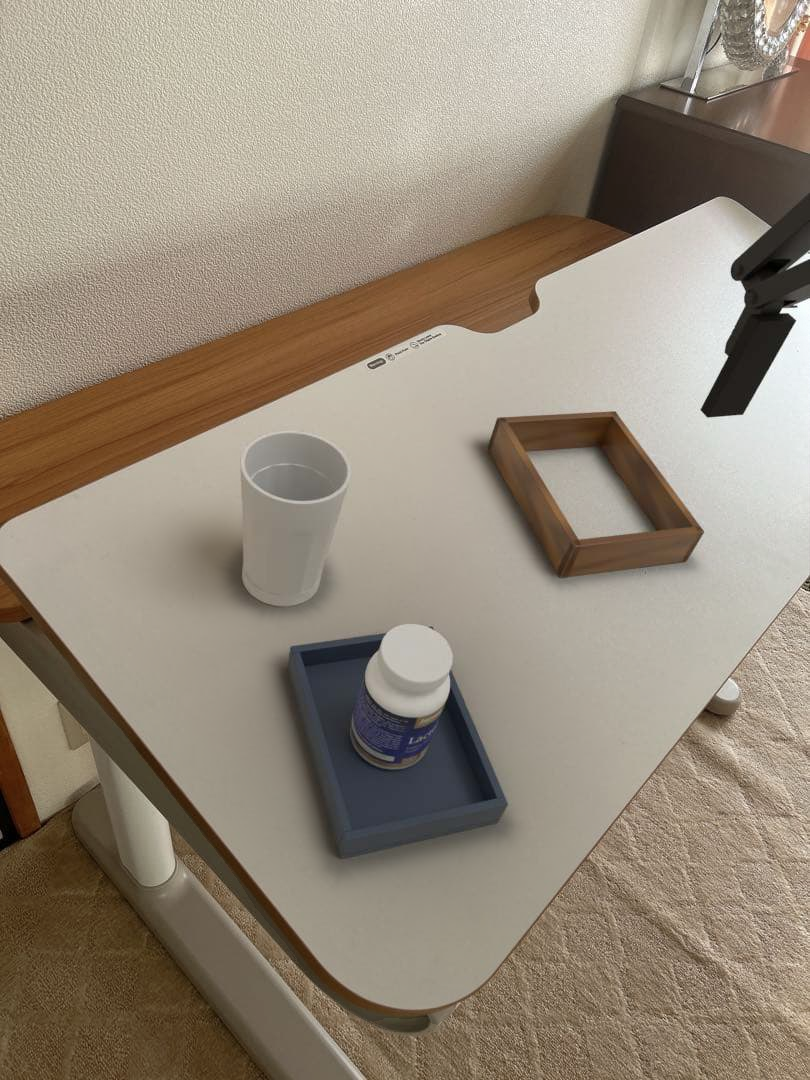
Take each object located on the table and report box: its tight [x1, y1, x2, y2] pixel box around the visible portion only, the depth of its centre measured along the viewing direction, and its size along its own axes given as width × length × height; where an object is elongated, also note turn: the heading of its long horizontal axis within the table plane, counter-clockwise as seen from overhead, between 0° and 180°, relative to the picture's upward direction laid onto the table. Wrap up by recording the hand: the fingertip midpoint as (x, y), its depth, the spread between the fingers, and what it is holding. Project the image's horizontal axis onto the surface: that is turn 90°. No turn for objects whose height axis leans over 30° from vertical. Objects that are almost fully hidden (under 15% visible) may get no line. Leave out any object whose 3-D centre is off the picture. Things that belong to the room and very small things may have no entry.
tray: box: [286, 626, 509, 860], centre depth 62 cm, size 15×11×3 cm
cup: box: [239, 429, 352, 607], centre depth 68 cm, size 8×8×12 cm
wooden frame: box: [486, 410, 705, 578], centre depth 85 cm, size 18×14×4 cm
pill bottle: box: [350, 623, 454, 770], centre depth 59 cm, size 6×6×10 cm
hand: (790, 489), depth 49 cm, fingers open, 13 cm apart
